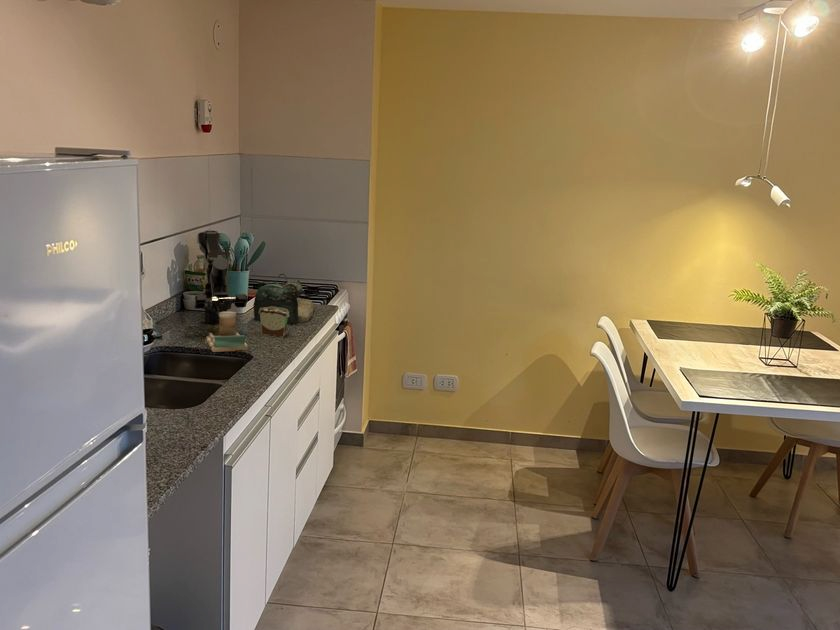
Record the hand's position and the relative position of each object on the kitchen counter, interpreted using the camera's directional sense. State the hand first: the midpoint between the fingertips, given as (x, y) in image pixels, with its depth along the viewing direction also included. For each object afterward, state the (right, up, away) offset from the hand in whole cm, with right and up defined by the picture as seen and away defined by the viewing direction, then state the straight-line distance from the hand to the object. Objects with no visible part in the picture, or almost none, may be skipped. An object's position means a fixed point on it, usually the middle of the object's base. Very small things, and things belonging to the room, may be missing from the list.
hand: (223, 320), depth 280 cm
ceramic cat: (+13, -1, +33) cm, 35 cm away
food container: (+17, -5, +13) cm, 22 cm away
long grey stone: (+21, +2, +51) cm, 55 cm away
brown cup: (+4, -7, -8) cm, 12 cm away
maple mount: (+3, -9, -6) cm, 11 cm away
